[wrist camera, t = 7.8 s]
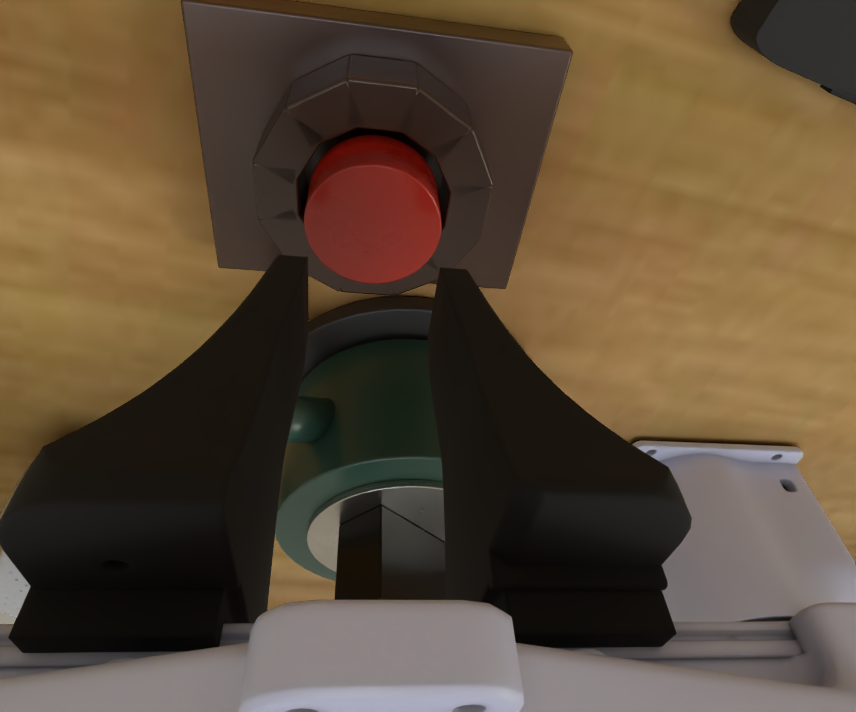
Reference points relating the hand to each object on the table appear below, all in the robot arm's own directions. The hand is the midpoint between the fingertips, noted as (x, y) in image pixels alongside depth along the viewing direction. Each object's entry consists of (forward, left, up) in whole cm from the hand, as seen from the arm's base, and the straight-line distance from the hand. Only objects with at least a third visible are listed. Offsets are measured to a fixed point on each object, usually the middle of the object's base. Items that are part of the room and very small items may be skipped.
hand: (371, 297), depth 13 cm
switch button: (0, 0, -5) cm, 5 cm away
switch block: (0, 0, -7) cm, 7 cm away
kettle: (-2, +11, -6) cm, 13 cm away
